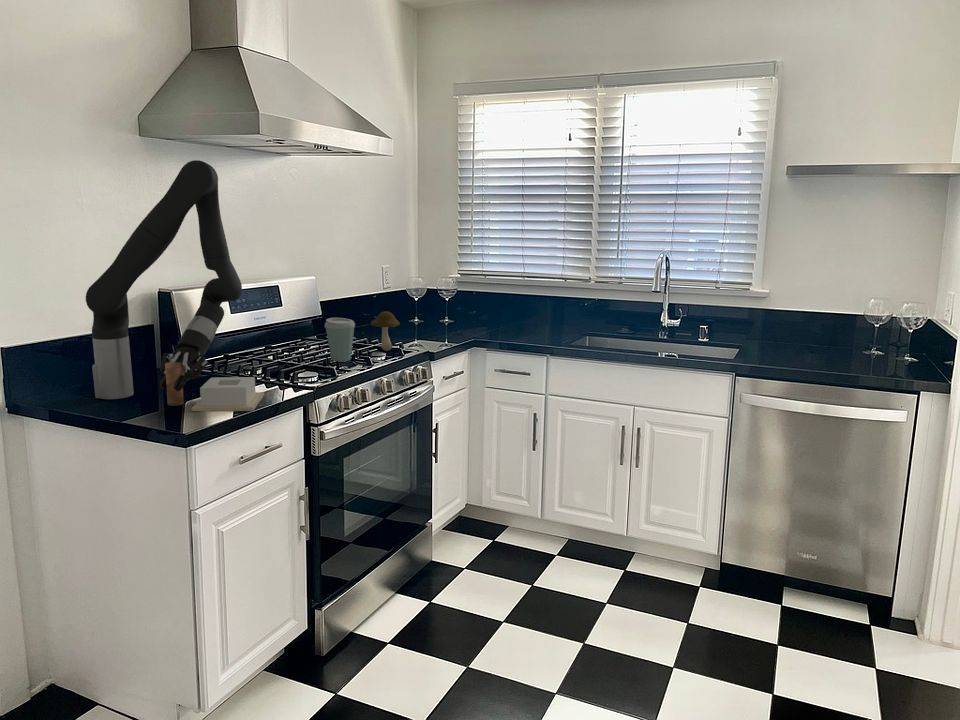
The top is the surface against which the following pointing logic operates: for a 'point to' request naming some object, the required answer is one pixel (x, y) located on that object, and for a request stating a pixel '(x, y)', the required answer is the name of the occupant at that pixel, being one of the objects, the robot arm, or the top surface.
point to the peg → (173, 383)
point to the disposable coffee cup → (340, 338)
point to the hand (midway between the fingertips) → (169, 388)
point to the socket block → (228, 395)
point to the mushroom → (385, 327)
